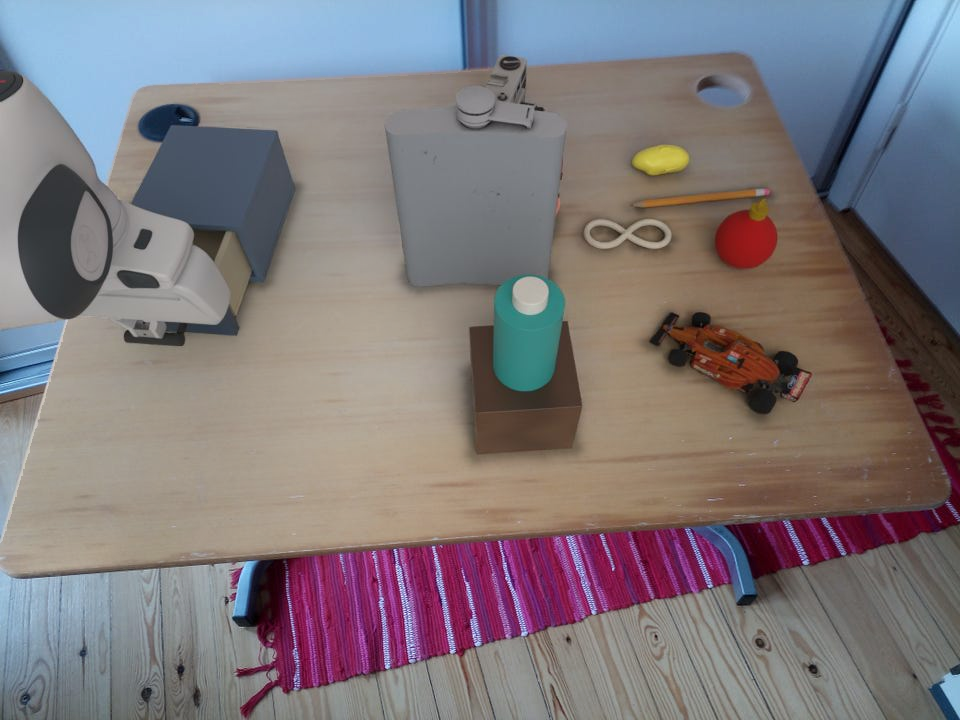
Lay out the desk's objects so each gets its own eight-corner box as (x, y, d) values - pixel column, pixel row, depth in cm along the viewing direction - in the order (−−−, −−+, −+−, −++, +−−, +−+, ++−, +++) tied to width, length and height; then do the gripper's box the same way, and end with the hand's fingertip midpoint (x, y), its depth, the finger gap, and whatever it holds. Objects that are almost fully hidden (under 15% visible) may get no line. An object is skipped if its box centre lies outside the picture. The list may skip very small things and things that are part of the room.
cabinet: (264, 282, 82) (240, 226, 74) (156, 275, 83) (121, 220, 75) (295, 188, 91) (277, 130, 83) (198, 183, 92) (171, 124, 84)
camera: (522, 184, 91) (523, 121, 83) (462, 168, 94) (457, 106, 85) (557, 124, 98) (561, 61, 90) (500, 111, 101) (499, 48, 92)
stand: (476, 454, 70) (476, 413, 62) (470, 373, 75) (469, 326, 67) (572, 448, 70) (582, 406, 62) (559, 367, 75) (567, 320, 68)
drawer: (224, 371, 74) (199, 331, 68) (116, 364, 75) (81, 323, 68) (271, 236, 85) (253, 190, 79) (176, 231, 86) (151, 184, 79)
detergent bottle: (524, 403, 63) (532, 331, 53) (480, 364, 65) (479, 289, 55) (567, 365, 65) (582, 290, 55) (523, 329, 67) (529, 251, 58)
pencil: (766, 189, 90) (628, 203, 89) (770, 186, 89) (631, 200, 88) (767, 196, 90) (629, 210, 89) (771, 193, 89) (631, 208, 88)
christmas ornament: (727, 229, 87) (753, 169, 78) (776, 258, 84) (808, 199, 76) (696, 259, 84) (720, 200, 76) (745, 290, 81) (775, 232, 73)
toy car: (674, 307, 80) (683, 284, 76) (807, 377, 74) (824, 355, 71) (642, 351, 77) (650, 329, 73) (779, 427, 71) (795, 407, 67)
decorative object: (581, 222, 87) (585, 251, 84) (582, 216, 86) (586, 245, 84) (666, 222, 88) (673, 250, 85) (668, 216, 87) (675, 245, 84)
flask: (547, 261, 84) (568, 84, 63) (547, 290, 81) (569, 115, 61) (409, 258, 84) (384, 80, 63) (405, 286, 82) (379, 111, 61)
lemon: (689, 179, 92) (697, 157, 89) (631, 181, 92) (637, 158, 89) (683, 159, 94) (690, 136, 91) (626, 160, 94) (632, 138, 91)
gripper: (-47, 264, 57) (43, 351, 69) (184, 279, 56) (236, 364, 68) (-13, 211, 61) (68, 302, 73) (206, 223, 60) (252, 313, 72)
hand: (151, 332), depth 70 cm, fingers closed, pressing on drawer
